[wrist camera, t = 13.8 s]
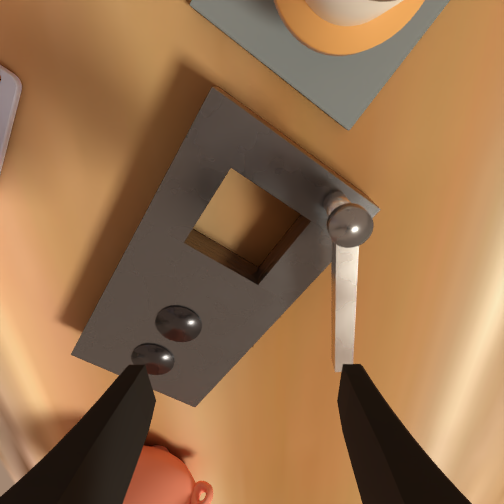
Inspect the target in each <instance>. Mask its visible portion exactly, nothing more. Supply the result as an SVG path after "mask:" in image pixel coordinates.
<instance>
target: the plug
mask: <svg viewBox="0 0 504 504" xmlns="http://www.w3.org/2000/svg"><path fill="white" fill-rule="evenodd" d="M424 1H425V0H274V3H275V6H276V9H277V11H278V13H279V16H280V18H281V20H282V21H283V23H284V25H285V26H286V28H287V29H288V30H289V32H290V33H291V34H292V35H293V36H294V37H295V38H296V39H297V40H298V41H299V42H300V43H301V44H303V45H304V46H306V47H307V48H309V49H311V50H313V51H315V52H317V53H321V54H324V55H330V56H347V55H353V54H356V53H359V52H362V51H365V50H368V49H370V48H373V47H375V46H377V45H379V44H381V43H383V42H384V41H386V40H387V39H389V38H391V37H392V36H393V35H394V34H396V33H397V32H398V31H399V30H401V29H402V28H403V27H404V26H405V25H406V24H407V23H408V22H409V21H410V20H411V18H412V17H413V16H414V15H415V13H416V12H417V11H418V10H419V8H420V7H421V5H422V4H423V2H424Z"/></svg>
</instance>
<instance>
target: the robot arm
mask: <svg viewBox="0 0 504 504" xmlns="http://www.w3.org/2000/svg"><path fill="white" fill-rule="evenodd" d="M0 76H1V81H0V174H1V170H2V166H3V162H4V158H5V154H6V150H7V146H8V142H9V138H10V134H11V130H12V126H13V122H14V118H15V114H16V111H17V107H18V103H19V99H20V95H21V91H22V84H21V81H20V79H19V78H18V77H17V76H16V75H15V74H14V73H12V72H11V71H9V70H8V69H6V68H4V67H3V66H1V65H0ZM155 402H156V399H155V396H154V392H153V389H152V386H151V382H150V379H149V376H148V372H147V369H146V366H145V365H128V366H127V367H126V368H125V369H124V371H123V372H122V373H121V374H120V375H119V376H118V378H117V379H116V380H115V381H114V382H113V383H112V385H111V386H110V387H109V388H108V389H107V390H106V392H105V393H104V394H103V395H102V396H101V397H100V399H99V400H98V401H97V402H96V403H95V404H94V405H93V406H92V407H91V409H90V410H89V411H88V412H87V413H86V414H85V415H84V416H83V417H82V419H81V420H80V421H79V422H78V423H77V424H76V425H75V426H74V427H73V428H72V429H71V430H70V431H69V432H68V433H67V434H66V435H65V436H64V438H63V439H62V440H61V441H60V442H59V443H58V444H57V445H56V446H55V447H54V448H53V449H52V450H51V451H50V452H49V453H48V454H47V455H46V456H45V457H44V458H43V459H42V460H41V461H40V462H38V463H37V464H36V465H35V466H34V467H33V468H32V469H31V470H30V471H29V472H28V473H27V474H26V475H25V476H23V477H22V478H21V479H20V480H19V481H18V482H17V483H16V484H15V485H13V486H12V487H11V488H10V489H9V490H8V491H7V492H5V493H4V494H3V495H2V496H1V497H0V504H123V501H124V498H125V496H126V493H127V490H128V487H129V485H130V482H131V479H132V476H133V473H134V471H135V468H136V465H137V462H138V459H139V457H140V454H141V451H142V448H143V445H144V443H145V440H146V437H147V434H148V431H149V427H150V423H151V419H152V415H153V411H154V406H155ZM337 402H338V408H339V414H340V420H341V425H342V431H343V435H344V438H345V442H346V446H347V449H348V453H349V457H350V460H351V464H352V467H353V471H354V475H355V478H356V482H357V485H358V489H359V492H360V496H361V500H362V503H363V504H472V503H471V502H470V501H469V500H468V499H467V498H466V497H465V496H464V495H463V494H462V493H461V492H460V491H459V490H458V489H457V488H456V487H455V485H454V484H453V483H452V482H451V481H450V480H449V479H448V478H447V477H446V476H445V474H444V473H443V472H442V471H441V470H440V469H439V468H438V467H437V465H436V464H435V463H434V462H433V461H432V460H431V458H430V457H429V456H428V455H427V454H426V452H425V451H424V450H423V449H422V448H421V446H420V445H419V444H418V443H417V441H416V440H415V439H414V438H413V437H412V435H411V434H410V433H409V431H408V430H407V429H406V428H405V426H404V425H403V424H402V422H401V421H400V420H399V418H398V417H397V416H396V414H395V413H394V412H393V410H392V409H391V408H390V406H389V405H388V403H387V402H386V401H385V399H384V398H383V396H382V395H381V393H380V392H379V391H378V389H377V388H376V386H375V385H374V383H373V382H372V380H371V379H370V377H369V376H368V374H367V372H366V371H365V369H364V368H363V366H362V365H361V364H343V366H342V373H341V380H340V387H339V393H338V400H337Z"/></svg>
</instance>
